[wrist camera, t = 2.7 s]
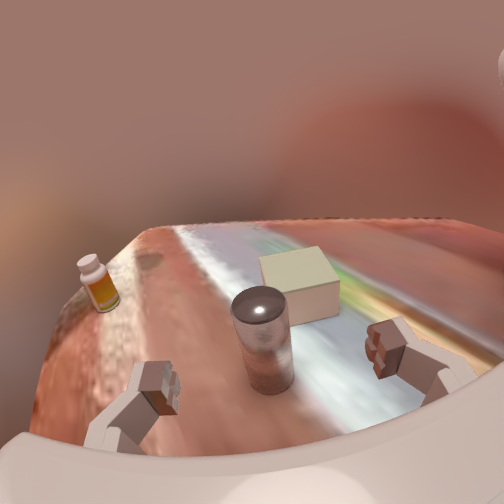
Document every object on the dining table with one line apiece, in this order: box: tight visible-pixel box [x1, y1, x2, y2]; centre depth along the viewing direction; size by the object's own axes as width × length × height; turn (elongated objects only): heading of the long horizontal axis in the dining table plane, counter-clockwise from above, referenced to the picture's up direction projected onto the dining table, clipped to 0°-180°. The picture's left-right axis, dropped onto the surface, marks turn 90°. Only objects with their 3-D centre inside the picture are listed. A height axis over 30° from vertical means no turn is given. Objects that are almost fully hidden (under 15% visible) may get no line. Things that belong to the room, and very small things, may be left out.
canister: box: [231, 286, 294, 395], centre depth 27 cm, size 5×5×12 cm
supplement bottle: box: [77, 254, 120, 312], centre depth 44 cm, size 5×5×10 cm
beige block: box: [259, 246, 340, 326], centre depth 39 cm, size 9×9×6 cm
